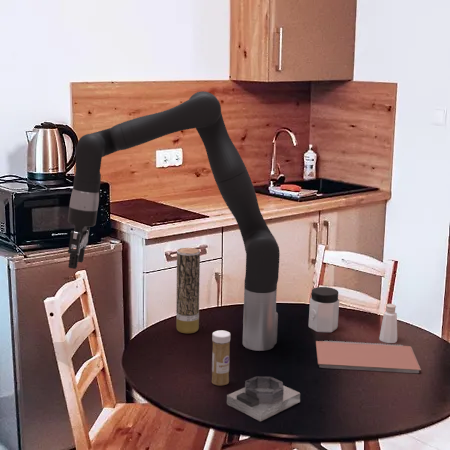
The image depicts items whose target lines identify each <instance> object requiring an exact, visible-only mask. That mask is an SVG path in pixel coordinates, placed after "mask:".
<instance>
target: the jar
mask: <svg viewBox="0 0 450 450" xmlns="http://www.w3.org/2000/svg"><path fill="white" fill-rule="evenodd" d="M310 295H311V298H309V309H308V310H309V313H308V328H310V329H311V330H313V331H315V332H317V333H332V332H334V331H335V330H337V329H338V327H339V310H340V309H339V308H340V299H339V290H338V289H335V288H333V287H330V286H329V287H327V286H317V287H315V288H312V289H311V294H310Z"/></svg>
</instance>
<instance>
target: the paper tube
mask: <svg viewBox="0 0 450 450" xmlns="http://www.w3.org/2000/svg"><path fill="white" fill-rule="evenodd" d="M200 251H201V250H200V249H198V248H195V247H181V248H177V249H176V310H175V311H176V313H175V314H176V318H175V319H176V321H175V322H176V323H175V324H176V331H177V332H179V333H182V334H194V333H196V332H198V331H199V328H200V326H199V325H200V323H199V322H200V281H201V280H200V277H201V276H200V271H201V270H200V269H201V268H200V267H201V266H200V265H201V252H200Z"/></svg>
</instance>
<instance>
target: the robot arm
mask: <svg viewBox="0 0 450 450" xmlns="http://www.w3.org/2000/svg"><path fill="white" fill-rule="evenodd" d="M226 127H227V126H226V124H225V120H224V118H223V114H222V106H221V103H220V101H219V99H218V97H217V96H216V95H214V94H213V93H211V92H208V91H205V90H204V91H202V90H201V91H197V92H195V93H193V94H192V95H191V96H190V97H189V99H187V100H186V101H184V102H182V103H180V104H178V105H176V106H174V107H173V106H172V107H171V108H168V109H166V110H162V111H159V112H155V113H151V114H147V115H142V116H139V117H135V118H133V119H129V120H126V121H123V122H120V123H118V124H114V125H113V126H112V127H109V128H105V129H102V130H99V131H95V132H93V133H92V132H91V133H87V134H83V135H82V136H81V137H80V138H79V139H78V141H77V145H76V148H75V149H76V150H75V173H74V176H73V177H74V180H73V186H72V192H71V194H70V195H71V196H70V200H69V206H68V207H69V208H68V216H67V222H68V224H71V225H74V229H73V230H70V231H71V232H70V238H69V244H68V250H67V252H68V254H69V259H68V260H69V261H68V268H69V269H75V270H76V269H77V268H78V265H79V264H78V263H83V262H84V259H85V250H86V249H87V246H88V245H89V235H90V229H91V227H94V226H96V224H97V217H98V208H99V204H100V203H99V202H100V187H101V181H102V173H101V167H102V166H101V165H102V158H103V157H106V156H109V155H111V154H113V153H116V152H118V151H126V150H129V149H131V148H135V147H137V146H141V145H143V144H145V143H148V142H152V141H153V140H157V139H159V138H162V137H164V136H167V135H171V134H175V133H178V132H180V131H181V132H182V131H185V130H186V131H187V130H192V129H193V130H194V129H195V130H196V131H197V133H198V135H199V137H200V139H201V141H202V143H203V145H204V149H205V152H206V155H207V160H208V163H209V166H210V170H211V173H212V175H213V179H214V181H215V184H216V186H217V189H218V191H219V193H220V195H221V197H222V199H223V201H224V203H225V205H226V206H227V208H228V210H229V211H230V213H231V215H232V216H233V218H234V219H235V221H236V223H237V225H238V228H239V231H240V234H241V238H242V242H243V245H244V250H245V276H244V286H243V287H244V289H243V290H244V292H243V319H242V324H243V325H242V345H243V347H245V349H248V350H252V351H255V352H256V351H259V352H260V351H269V350H271V349H273V348H274V347H275V345H276V344H278V342H277V341H278V322H279V321H278V319H279V314H278V312H277V291H278V289H277V288H278V282H279V274H280V273H279V272H280V255H281V254H280V247H279V244H278V242H277V239H276V237H275V236H274V235H273V233H272V231H271V230H270V227H269V226H268V224H267V222H266V221H265V219H264V217H263V215H262V212H261V210H260V206H259V202H258V198H257V193H256V190H255V186H254V185H253V182H252V179H251V176H250V174H249V171H248V169H247V166H246V164H245V162H244V160H243V158H242V157H241V155H240V153H239V151H238V149H237V148H236V146H235V144H234V143H233V141H232V138H231V137H230V135H229V132H228V130H227V128H226Z"/></svg>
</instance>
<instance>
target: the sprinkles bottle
mask: <svg viewBox="0 0 450 450" xmlns="http://www.w3.org/2000/svg"><path fill="white" fill-rule="evenodd" d="M211 336H212V337H211V340H212V355H211V356H212V358H211V383H212V384H213V385H215V386H221V387H223V386H225V385H226V386H227V385H228V384H229V382H230V376H229V375H230V373H229V372H230V344H231V343H230V342H231V332H229V331H227V330H222V329H221V330H215V331H213V332H212V335H211Z"/></svg>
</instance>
